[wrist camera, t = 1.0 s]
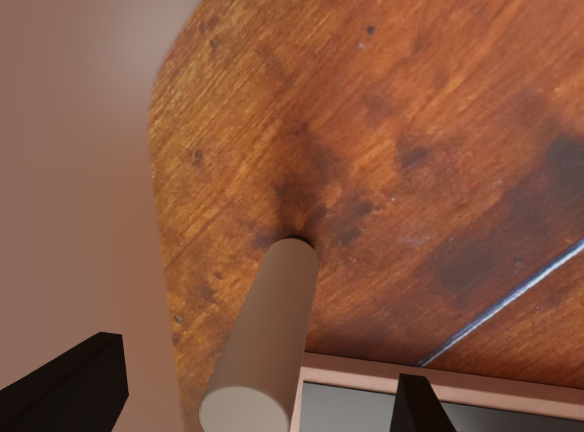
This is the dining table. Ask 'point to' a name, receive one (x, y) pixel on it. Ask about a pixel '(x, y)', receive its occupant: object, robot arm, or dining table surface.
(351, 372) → the tablet
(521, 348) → the dining table surface
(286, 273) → the stylus
